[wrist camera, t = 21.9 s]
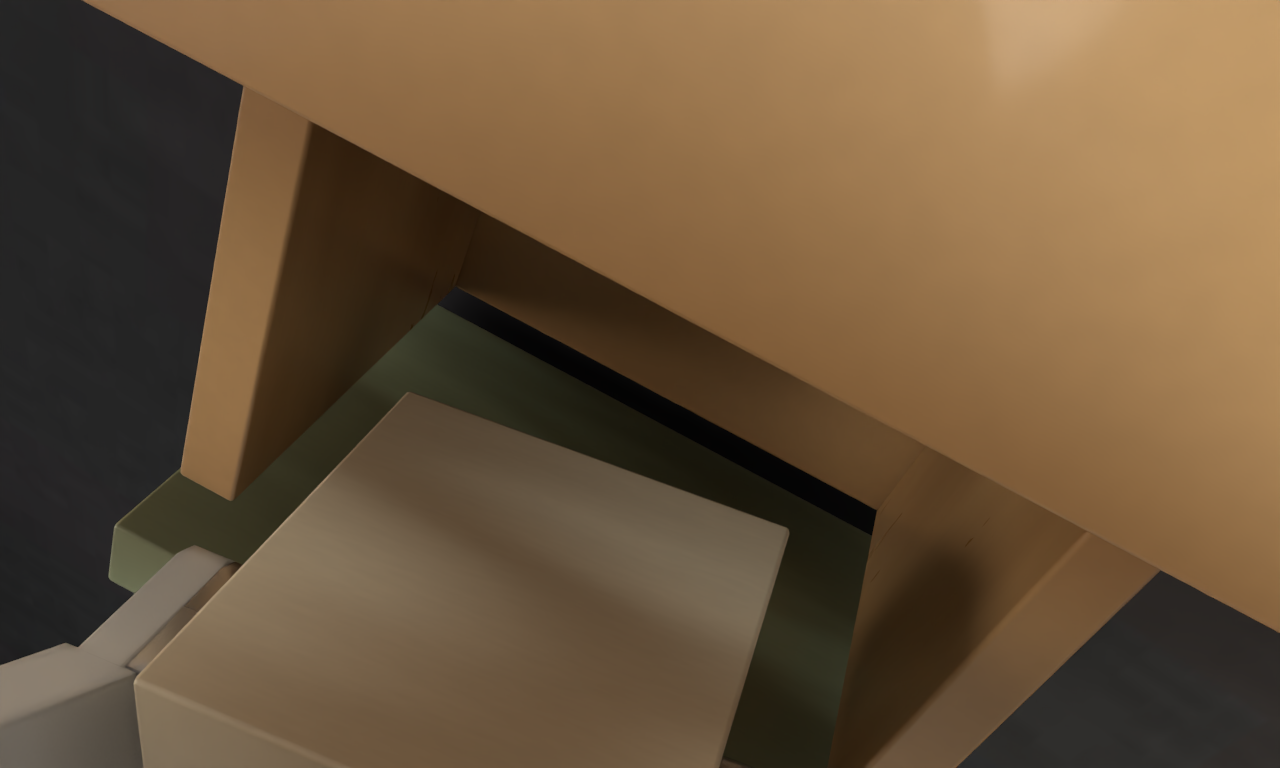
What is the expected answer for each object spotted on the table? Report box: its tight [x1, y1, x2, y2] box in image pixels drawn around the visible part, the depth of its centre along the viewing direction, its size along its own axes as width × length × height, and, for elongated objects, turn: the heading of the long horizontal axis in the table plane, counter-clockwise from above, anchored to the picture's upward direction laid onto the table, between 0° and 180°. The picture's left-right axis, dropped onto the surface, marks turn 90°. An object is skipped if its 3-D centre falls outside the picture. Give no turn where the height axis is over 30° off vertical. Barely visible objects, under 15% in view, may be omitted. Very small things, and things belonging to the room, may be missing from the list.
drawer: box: [108, 86, 1161, 768], centre depth 15 cm, size 19×11×8 cm, turn 158°
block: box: [133, 392, 789, 768], centre depth 11 cm, size 4×4×4 cm
